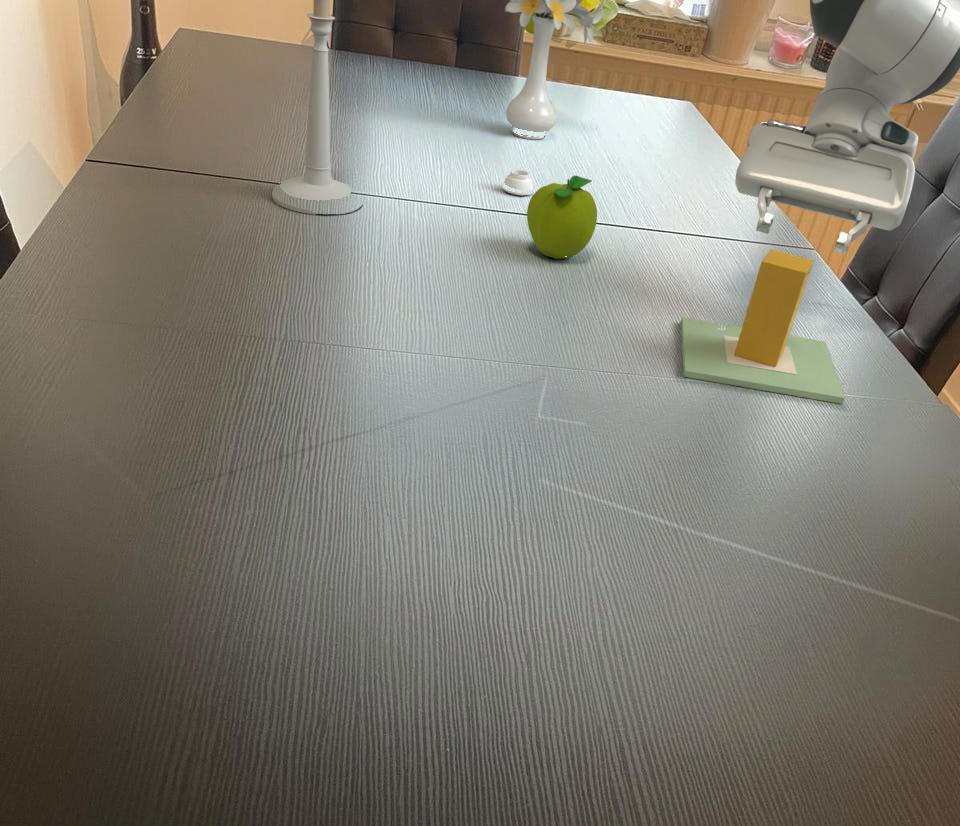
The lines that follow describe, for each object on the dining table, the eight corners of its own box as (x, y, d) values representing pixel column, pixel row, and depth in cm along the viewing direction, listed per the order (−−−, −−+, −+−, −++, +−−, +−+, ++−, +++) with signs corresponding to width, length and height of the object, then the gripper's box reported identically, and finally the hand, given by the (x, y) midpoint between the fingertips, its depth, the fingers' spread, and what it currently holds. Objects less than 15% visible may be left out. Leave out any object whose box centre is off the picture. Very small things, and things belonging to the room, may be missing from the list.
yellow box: (742, 341, 122) (770, 249, 115) (783, 352, 121) (814, 260, 114) (733, 355, 119) (761, 261, 112) (775, 367, 117) (806, 272, 110)
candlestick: (254, 191, 145) (249, -61, 126) (327, 182, 153) (333, -58, 134) (306, 220, 139) (309, -42, 120) (380, 209, 146) (394, -39, 127)
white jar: (538, 192, 162) (509, 185, 163) (541, 173, 160) (512, 165, 161) (525, 199, 158) (496, 191, 160) (528, 179, 156) (499, 171, 158)
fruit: (600, 257, 142) (615, 181, 136) (567, 273, 136) (581, 194, 129) (544, 238, 145) (556, 163, 139) (509, 252, 139) (520, 175, 132)
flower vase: (579, 152, 184) (607, -10, 168) (479, 135, 184) (497, -28, 169) (583, 135, 194) (609, -19, 178) (487, 119, 194) (506, -36, 179)
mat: (823, 347, 126) (826, 340, 126) (842, 404, 114) (845, 397, 113) (680, 322, 127) (682, 315, 126) (683, 377, 114) (685, 369, 114)
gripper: (758, 99, 121) (717, 203, 120) (933, 139, 116) (891, 247, 115) (755, 132, 127) (715, 232, 126) (920, 171, 122) (880, 275, 122)
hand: (800, 240), depth 121 cm, fingers open, 8 cm apart
